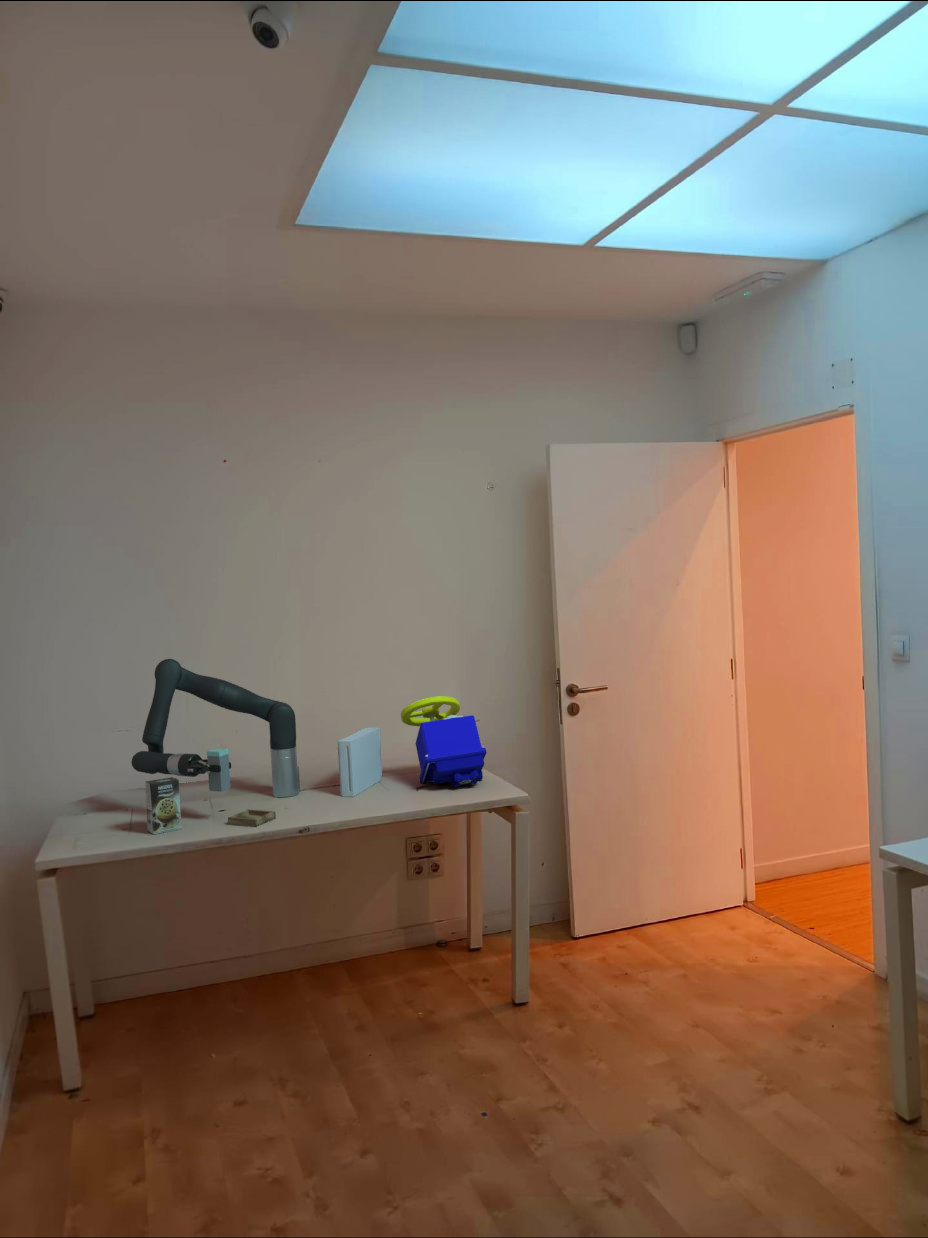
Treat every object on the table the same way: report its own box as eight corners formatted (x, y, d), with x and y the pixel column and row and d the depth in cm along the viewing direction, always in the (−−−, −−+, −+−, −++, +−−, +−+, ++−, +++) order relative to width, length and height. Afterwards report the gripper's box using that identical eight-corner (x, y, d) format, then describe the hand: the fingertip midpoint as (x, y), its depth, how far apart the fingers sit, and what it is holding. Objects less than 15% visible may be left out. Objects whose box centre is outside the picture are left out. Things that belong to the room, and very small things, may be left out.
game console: (338, 796, 333) (335, 741, 332) (368, 779, 359) (365, 727, 358) (353, 797, 331) (350, 741, 330) (382, 779, 357) (379, 727, 356)
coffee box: (153, 835, 294) (150, 784, 293) (147, 831, 299) (143, 781, 298) (182, 829, 299) (179, 779, 298) (175, 825, 304) (172, 776, 304)
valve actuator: (493, 767, 328) (474, 690, 341) (418, 779, 322) (402, 700, 335) (482, 791, 350) (464, 717, 363) (412, 803, 344) (397, 727, 358)
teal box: (218, 787, 310) (216, 748, 310) (230, 788, 308) (228, 749, 308) (209, 790, 306) (206, 751, 306) (221, 791, 304) (219, 752, 303)
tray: (248, 816, 311) (248, 809, 311) (275, 818, 307) (275, 811, 307) (228, 824, 302) (227, 817, 302) (255, 827, 297) (255, 820, 297)
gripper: (168, 758, 306) (210, 760, 299) (198, 749, 319) (238, 751, 312) (170, 780, 307) (211, 783, 299) (200, 771, 320) (240, 773, 312)
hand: (225, 767), depth 306 cm, fingers closed on teal box, 4 cm apart
